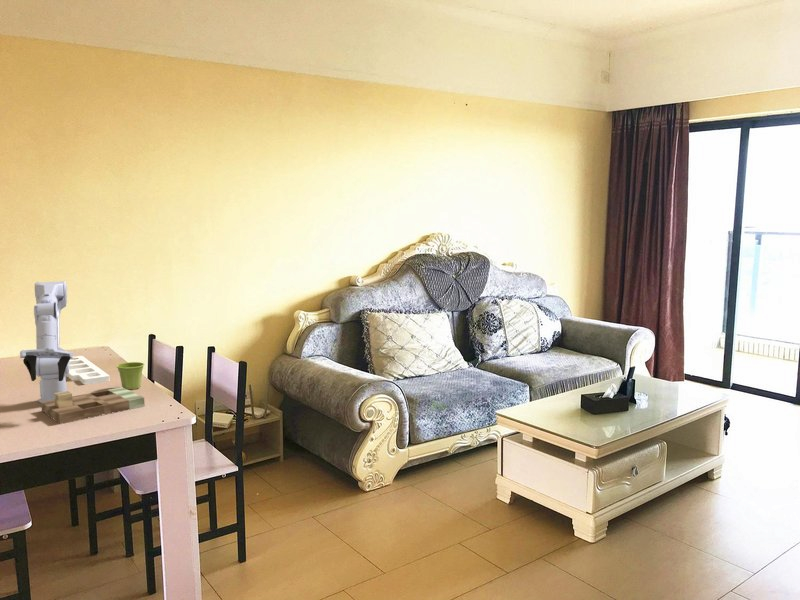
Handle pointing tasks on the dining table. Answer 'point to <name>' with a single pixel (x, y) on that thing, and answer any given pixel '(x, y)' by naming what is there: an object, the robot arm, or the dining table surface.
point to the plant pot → (130, 374)
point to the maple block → (63, 399)
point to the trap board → (94, 404)
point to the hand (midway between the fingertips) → (47, 380)
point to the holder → (85, 371)
